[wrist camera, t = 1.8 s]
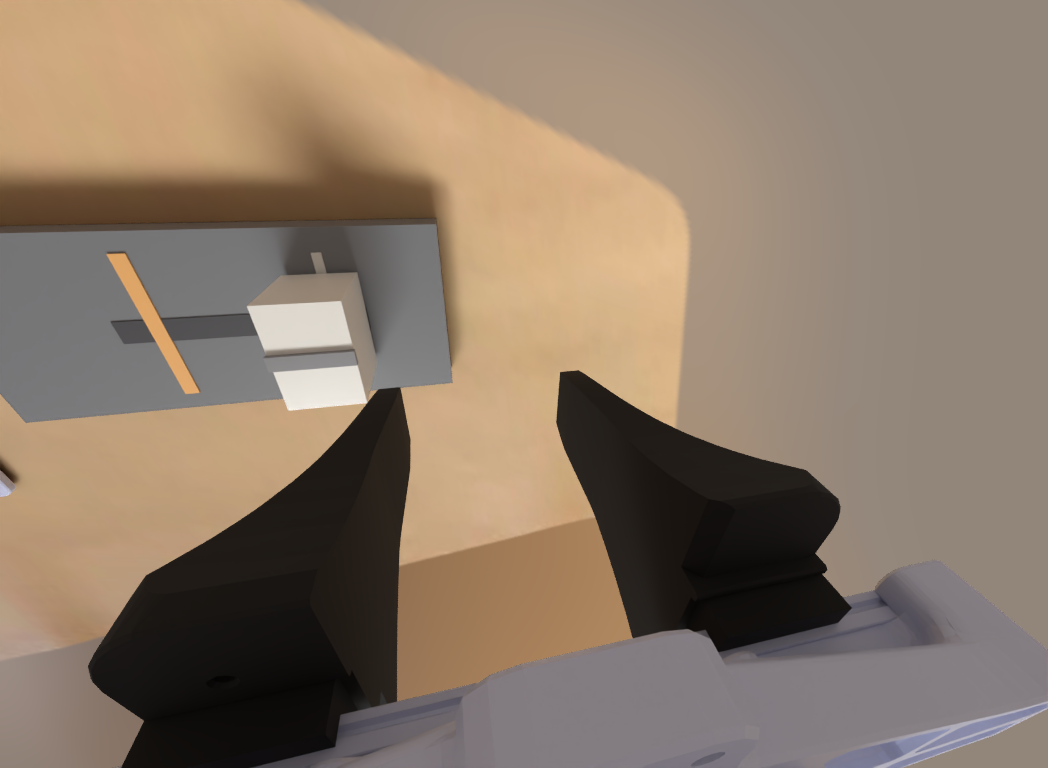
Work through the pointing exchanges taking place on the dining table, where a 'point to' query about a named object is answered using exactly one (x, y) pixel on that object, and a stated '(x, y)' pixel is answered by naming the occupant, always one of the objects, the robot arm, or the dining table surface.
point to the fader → (316, 339)
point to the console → (197, 309)
